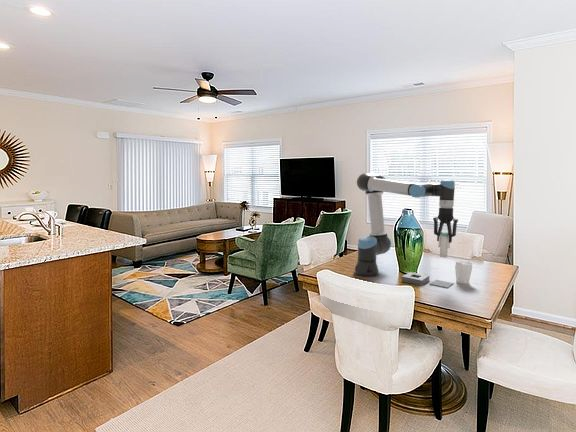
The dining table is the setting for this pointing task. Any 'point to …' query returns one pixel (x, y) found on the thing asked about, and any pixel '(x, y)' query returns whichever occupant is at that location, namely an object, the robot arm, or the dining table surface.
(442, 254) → the plug
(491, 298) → the dining table surface
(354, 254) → the dining table surface
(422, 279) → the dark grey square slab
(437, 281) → the coaster
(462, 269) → the cup
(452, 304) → the dining table surface
